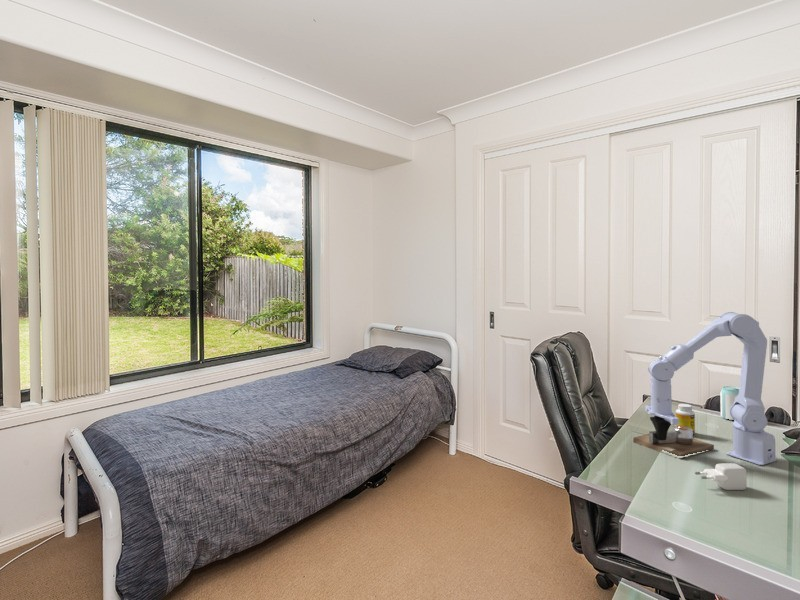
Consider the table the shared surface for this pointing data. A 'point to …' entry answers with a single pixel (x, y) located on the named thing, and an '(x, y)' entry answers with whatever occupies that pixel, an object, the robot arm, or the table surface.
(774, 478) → the table surface
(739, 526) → the table surface
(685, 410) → the supplement bottle
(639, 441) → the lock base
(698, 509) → the table surface
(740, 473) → the power adapter
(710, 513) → the table surface
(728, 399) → the can
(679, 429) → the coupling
